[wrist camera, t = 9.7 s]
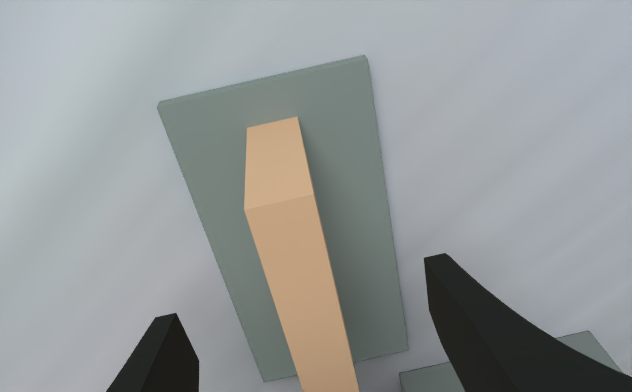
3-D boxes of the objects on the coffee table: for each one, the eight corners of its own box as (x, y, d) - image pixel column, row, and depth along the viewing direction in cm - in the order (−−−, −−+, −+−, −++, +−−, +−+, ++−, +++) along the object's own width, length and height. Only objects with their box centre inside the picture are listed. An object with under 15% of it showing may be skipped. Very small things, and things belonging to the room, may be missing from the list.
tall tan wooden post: (297, 116, 19) (313, 194, 14) (346, 331, 25) (370, 440, 20) (246, 127, 19) (243, 209, 14) (308, 340, 25) (322, 451, 20)
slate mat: (364, 54, 18) (367, 58, 18) (405, 341, 27) (408, 350, 26) (159, 101, 18) (156, 107, 18) (263, 373, 27) (264, 382, 26)
